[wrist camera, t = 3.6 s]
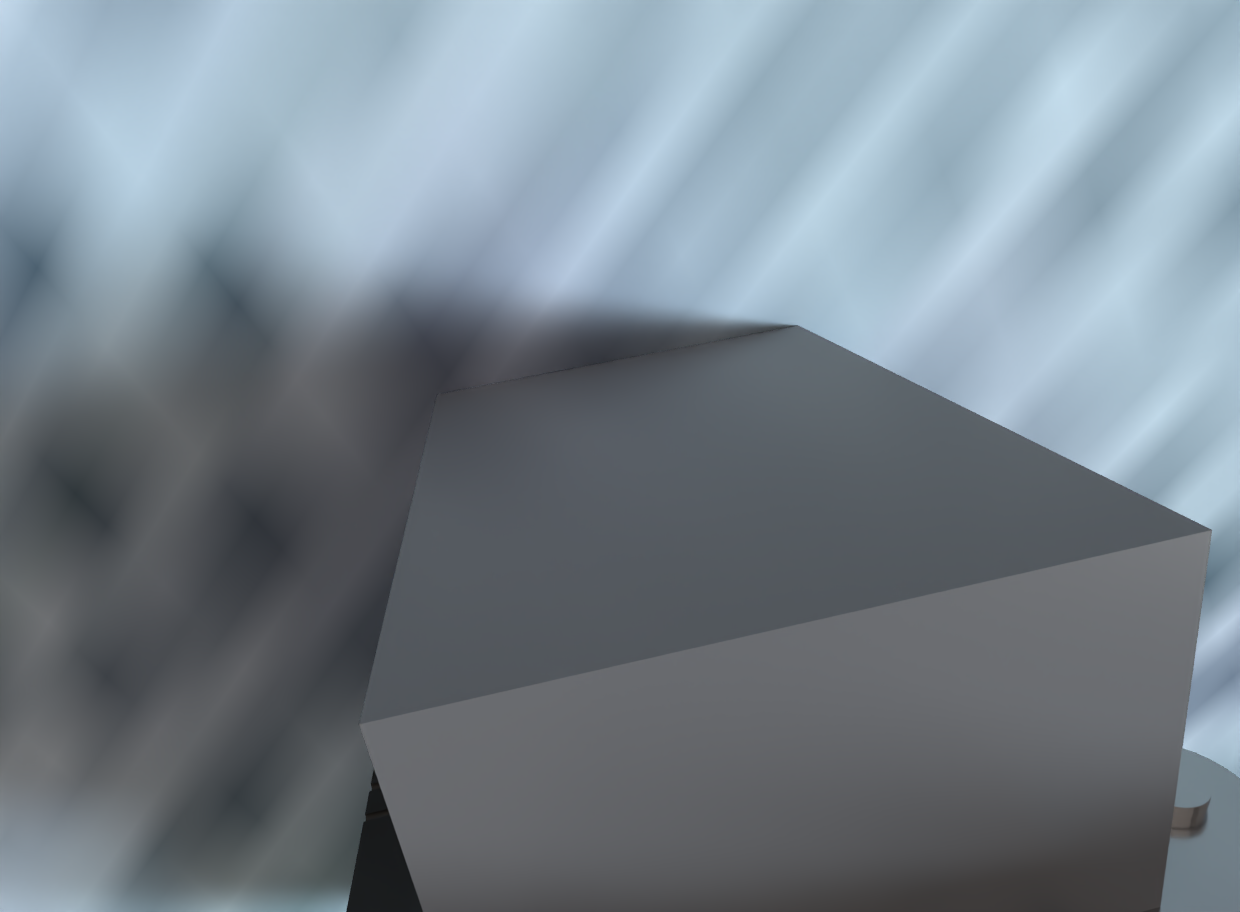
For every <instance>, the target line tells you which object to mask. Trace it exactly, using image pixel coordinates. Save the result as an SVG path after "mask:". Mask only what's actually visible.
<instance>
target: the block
mask: <svg viewBox="0 0 1240 912" xmlns="http://www.w3.org/2000/svg"><path fill="white" fill-rule="evenodd" d="M1211 534H1212V530H1211V529H1209V528H1207V527H1205V526H1203V525H1201V524H1199V523H1197V522H1195V521H1193V520H1191V519H1189V518H1186V517H1184V516H1182V515H1180V514H1178V513H1176V512H1174V511H1172V510H1170V509H1168V508H1166V507H1164V506H1162V505H1160V504H1158V503H1156V502H1154V501H1152V500H1150V499H1148V498H1146V497H1144V496H1142V495H1140V494H1138V493H1136V492H1134V491H1132V490H1130V489H1128V488H1126V487H1124V486H1122V485H1120V484H1118V483H1116V482H1114V481H1112V480H1110V479H1108V478H1106V477H1104V476H1102V475H1100V474H1097V473H1095V472H1093V471H1091V470H1089V469H1087V468H1085V467H1083V466H1081V465H1079V464H1077V463H1075V462H1073V461H1071V460H1069V459H1067V458H1065V457H1063V456H1061V455H1059V454H1057V453H1055V452H1053V451H1051V450H1049V449H1047V448H1045V447H1043V446H1041V445H1039V444H1037V443H1035V442H1033V441H1031V440H1029V439H1027V438H1025V437H1023V436H1021V435H1019V434H1017V433H1015V432H1013V431H1011V430H1008V429H1006V428H1004V427H1002V426H1000V425H998V424H996V423H994V422H992V421H990V420H988V419H986V418H984V417H982V416H980V415H978V414H976V413H974V412H972V411H970V410H968V409H966V408H964V407H962V406H960V405H958V404H956V403H954V402H952V401H950V400H948V399H946V398H944V397H942V396H940V395H938V394H936V393H934V392H932V391H930V390H928V389H926V388H924V387H922V386H919V385H917V384H915V383H913V382H911V381H909V380H907V379H905V378H903V377H901V376H899V375H897V374H895V373H893V372H891V371H889V370H887V369H885V368H883V367H881V366H879V365H877V364H875V363H873V362H871V361H869V360H867V359H865V358H863V357H861V356H859V355H857V354H855V353H853V352H851V351H849V350H847V349H845V348H843V347H841V346H839V345H837V344H835V343H833V342H830V341H828V340H826V339H824V338H822V337H820V336H818V335H816V334H814V333H812V332H810V331H808V330H806V329H804V328H802V327H800V326H798V325H797V326H792V327H787V328H782V329H777V330H771V331H766V332H761V333H756V334H750V335H745V336H740V337H735V338H729V339H724V340H719V341H714V342H708V343H703V344H698V345H693V346H688V347H682V348H677V349H672V350H667V351H661V352H656V353H651V354H646V355H640V356H635V357H630V358H625V359H619V360H614V361H609V362H604V363H599V364H593V365H588V366H583V367H578V368H572V369H567V370H562V371H557V372H551V373H546V374H541V375H536V376H530V377H525V378H520V379H515V380H510V381H504V382H499V383H494V384H489V385H483V386H478V387H473V388H468V389H462V390H457V391H452V392H447V393H441V394H437V396H436V401H435V405H434V409H433V413H432V417H431V422H430V426H429V430H428V434H427V439H426V443H425V447H424V451H423V455H422V460H421V464H420V468H419V472H418V477H417V481H416V485H415V489H414V494H413V498H412V502H411V506H410V510H409V515H408V519H407V523H406V527H405V532H404V536H403V540H402V544H401V548H400V553H399V557H398V561H397V565H396V570H395V574H394V578H393V582H392V586H391V591H390V595H389V599H388V603H387V608H386V612H385V616H384V620H383V625H382V629H381V633H380V637H379V641H378V646H377V650H376V654H375V658H374V663H373V667H372V671H371V675H370V679H369V684H368V688H367V692H366V696H365V701H364V705H363V709H362V713H361V718H360V722H359V726H360V729H361V732H362V735H363V738H364V741H365V744H366V747H367V750H368V753H369V756H370V758H371V761H372V764H373V767H374V770H375V773H376V776H377V779H378V782H379V785H380V788H381V790H382V793H383V796H384V799H385V802H386V805H387V808H388V811H389V814H390V817H391V820H392V823H393V825H394V828H395V831H396V834H397V837H398V840H399V843H400V846H401V849H402V852H403V855H404V857H405V860H406V863H407V866H408V869H409V872H410V875H411V878H412V881H413V884H414V887H415V889H416V892H417V895H418V898H419V901H420V904H421V907H422V910H423V912H1143V911H1147V910H1150V909H1154V908H1158V907H1161V899H1162V892H1163V885H1164V877H1165V870H1166V863H1167V856H1168V848H1169V841H1170V834H1171V826H1172V819H1173V812H1174V804H1175V797H1176V790H1177V782H1178V775H1179V768H1180V760H1181V753H1182V746H1183V738H1184V731H1185V724H1186V717H1187V709H1188V702H1189V695H1190V687H1191V680H1192V673H1193V665H1194V658H1195V651H1196V643H1197V636H1198V629H1199V621H1200V614H1201V607H1202V599H1203V592H1204V585H1205V578H1206V570H1207V563H1208V556H1209V548H1210V541H1211Z"/></svg>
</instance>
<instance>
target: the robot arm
mask: <svg viewBox="0 0 1240 912" xmlns="http://www.w3.org/2000/svg"><path fill="white" fill-rule="evenodd" d="M371 786H372V791H370V792H369V797H368V802H367V807H366V812H365V815H366V821H365V822H364V823H363V828H362V833H361V838H360V844H359V849H358V854H357V859H356V864H355V869H354V875H353V880H352V885H351V890H350V895H349V901H348V906H347V911H346V912H423V910H422V907H421V904H420V901H419V898H418V895H417V892H416V889H415V887H414V884H413V881H412V878H411V875H410V872H409V869H408V866H407V863H406V860H405V857H404V855H403V852H402V849H401V846H400V843H399V840H398V837H397V834H396V831H395V828H394V825H393V823H392V820H391V817H390V814H389V811H388V808H387V805H386V802H385V799H384V796H383V793H382V790H381V788H380V785H379V782H378V779H377V776H376V773H375V770H374V771H373V776H372V781H371ZM1143 912H1240V778H1239V777H1237V776H1236V775H1235V774H1233V773H1232V772H1230V771H1229V770H1227V769H1226V768H1224V767H1223V766H1221V765H1219V764H1217V763H1216V762H1214V761H1212V760H1210V759H1208V758H1206V757H1204V756H1201V755H1199V754H1197V753H1195V752H1192V751H1189V750H1186V749H1183V748H1182V753H1181V760H1180V768H1179V775H1178V782H1177V790H1176V797H1175V804H1174V812H1173V819H1172V826H1171V834H1170V841H1169V848H1168V856H1167V863H1166V870H1165V877H1164V885H1163V892H1162V899H1161V907H1158V908H1154V909H1150V910H1147V911H1143Z"/></svg>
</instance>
